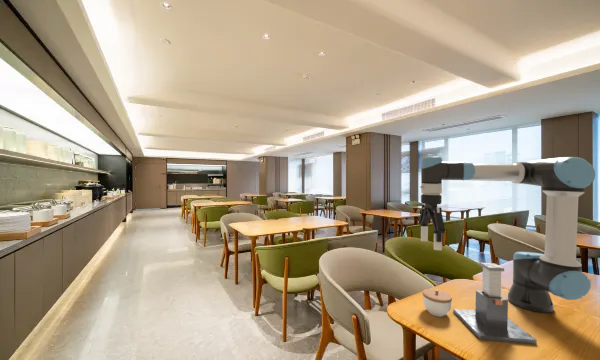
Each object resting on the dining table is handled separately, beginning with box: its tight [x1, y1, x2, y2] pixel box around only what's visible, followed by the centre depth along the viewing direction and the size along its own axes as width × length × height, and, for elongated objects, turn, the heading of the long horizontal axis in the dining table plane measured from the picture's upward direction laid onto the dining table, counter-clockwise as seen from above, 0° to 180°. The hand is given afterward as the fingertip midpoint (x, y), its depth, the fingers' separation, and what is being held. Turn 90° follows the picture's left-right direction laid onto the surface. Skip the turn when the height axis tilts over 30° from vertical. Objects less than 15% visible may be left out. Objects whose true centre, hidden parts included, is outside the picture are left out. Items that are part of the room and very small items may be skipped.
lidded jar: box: [422, 288, 453, 318], centre depth 104 cm, size 11×11×9 cm
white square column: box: [479, 262, 505, 298], centre depth 94 cm, size 5×5×21 cm
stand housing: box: [453, 289, 538, 345], centre depth 94 cm, size 18×18×12 cm
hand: (430, 245), depth 104 cm, fingers open, 13 cm apart
